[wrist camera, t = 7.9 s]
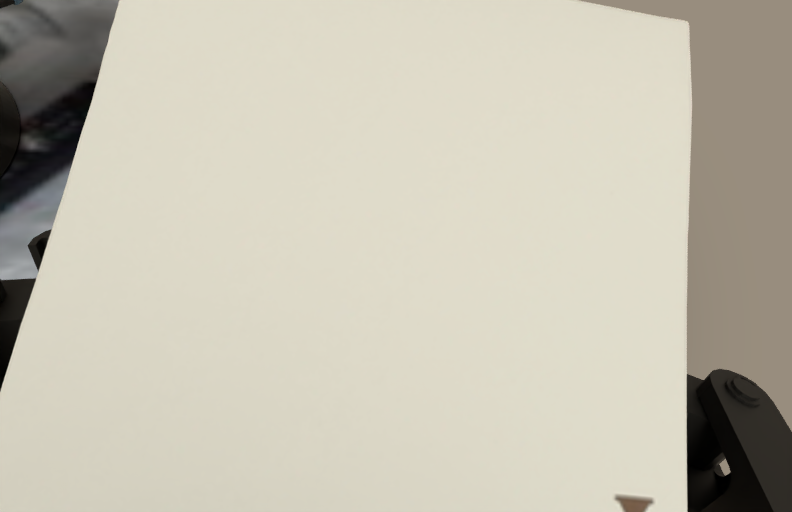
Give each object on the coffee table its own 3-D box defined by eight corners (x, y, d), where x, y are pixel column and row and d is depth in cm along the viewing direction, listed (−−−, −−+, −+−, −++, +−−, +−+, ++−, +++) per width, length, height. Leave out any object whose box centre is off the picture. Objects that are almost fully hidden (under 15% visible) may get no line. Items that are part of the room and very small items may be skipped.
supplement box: (466, 227, 21) (719, 6, 7) (446, 407, 20) (722, 649, 5) (290, 198, 21) (133, -120, 6) (254, 382, 19) (-86, 576, 4)
